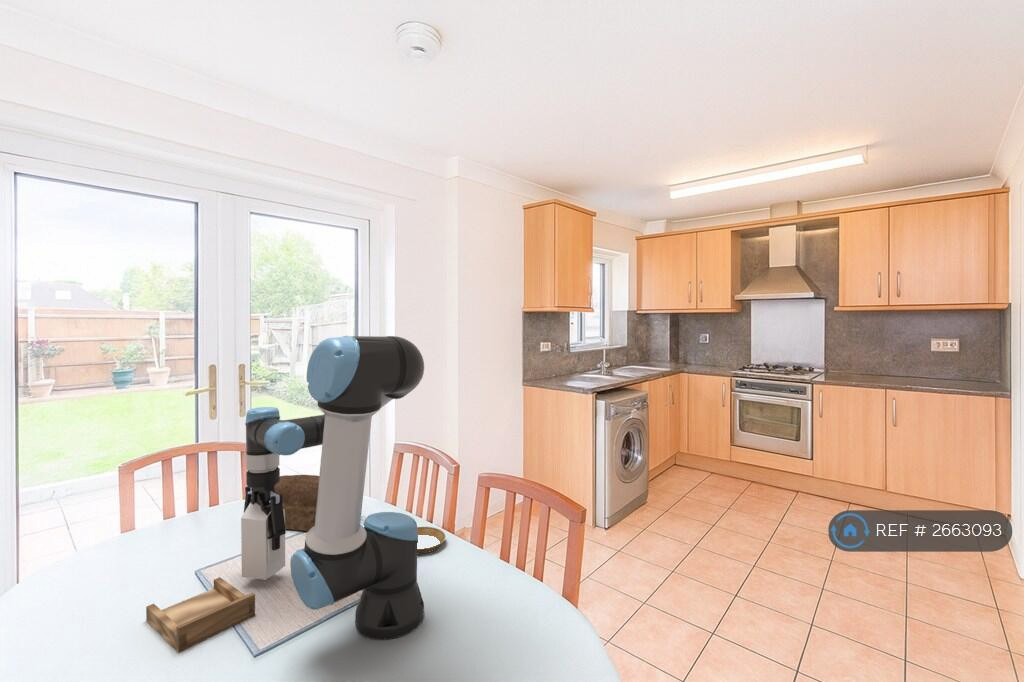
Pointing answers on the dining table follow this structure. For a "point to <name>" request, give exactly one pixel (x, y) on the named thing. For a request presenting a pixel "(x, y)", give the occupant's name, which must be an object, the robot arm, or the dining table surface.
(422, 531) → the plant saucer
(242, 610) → the wooden tray
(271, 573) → the milk carton
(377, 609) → the robot arm
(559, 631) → the dining table surface
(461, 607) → the dining table surface
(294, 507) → the bread
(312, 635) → the dining table surface
